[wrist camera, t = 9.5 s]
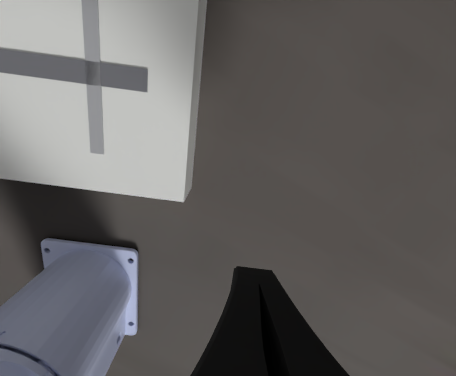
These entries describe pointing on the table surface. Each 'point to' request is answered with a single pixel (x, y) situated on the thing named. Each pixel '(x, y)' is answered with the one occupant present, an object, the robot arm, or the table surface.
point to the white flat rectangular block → (101, 94)
